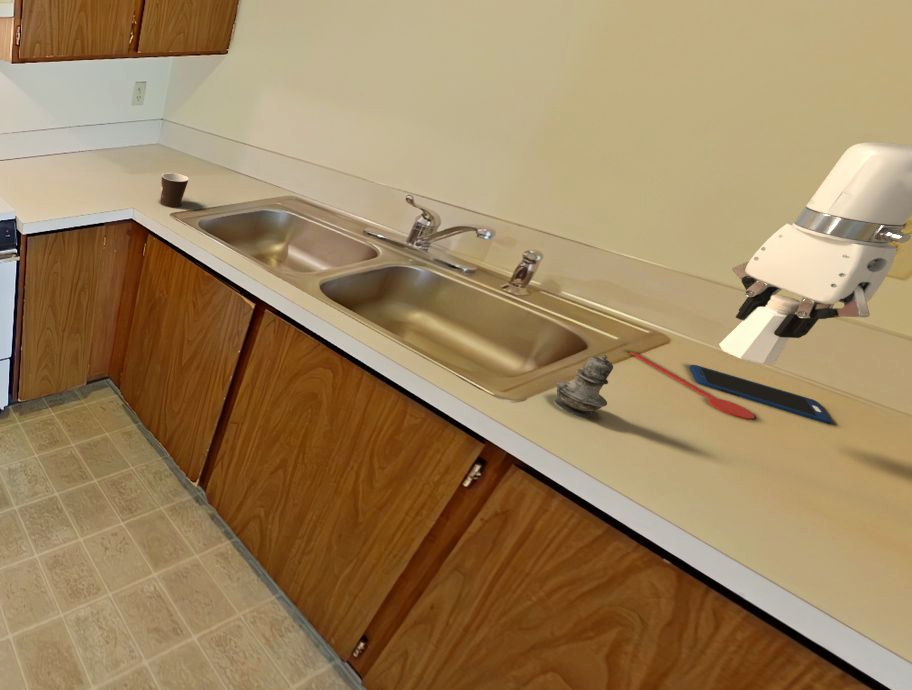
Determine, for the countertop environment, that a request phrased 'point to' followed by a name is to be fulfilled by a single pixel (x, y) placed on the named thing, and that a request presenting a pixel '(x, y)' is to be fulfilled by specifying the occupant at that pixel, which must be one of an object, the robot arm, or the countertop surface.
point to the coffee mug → (173, 189)
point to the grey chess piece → (585, 388)
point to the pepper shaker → (761, 332)
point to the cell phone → (760, 393)
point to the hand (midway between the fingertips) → (767, 326)
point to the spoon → (706, 394)
